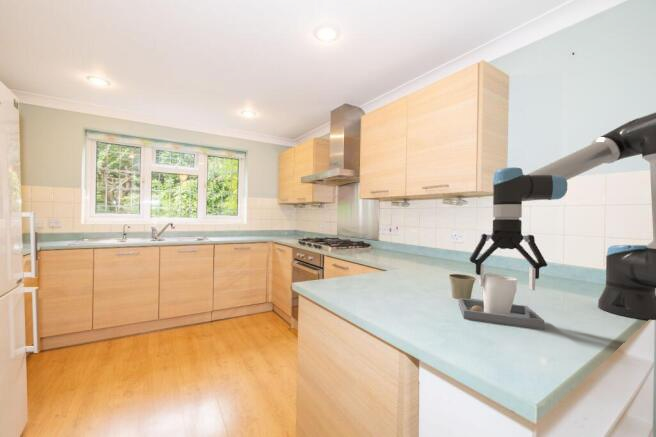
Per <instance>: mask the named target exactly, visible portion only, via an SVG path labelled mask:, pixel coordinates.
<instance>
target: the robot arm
mask: <svg viewBox="0 0 656 437" xmlns="http://www.w3.org/2000/svg"><path fill="white" fill-rule="evenodd" d="M640 155H641V157H642V159H643V160H645V161H646V162H648V163H649V169H650V174H649V175H650V192H651V194H650V195H651V198H650V199H651V215H652V216H651V217H652V219H651V220H652V221H651V222H652V238H653V240H652V241H651V242H650V243H648V244H646V245H645V244H640V245H639V244H631V245H630V244H621V245H620V244H618V245H617V244H616V245H610V246H608V248H607V250H606V251H607V252H606V256H605V258H606V259H605V260H606V262H605V264H606V265H605V266H606V268H605V286H604V289H603V291H602V293H601V295H600V297H599V298H598V303H597V307H598V309H600V310H602V311H606V312H608V313H612V314H615V315H618V316H623V317H626V318H628V317H629V318H631V319H632V318H634V319H639V320H647V321H648V320H649V321H656V112H655V111H654V112H652V113H650V114H647V115H644V116H641V117H638V118H635V119H633V120H629V121H627V122H626V123H624V124H621V125H620V126H617V127H616V128H614V129H612V130H610V131H609V132H607V133H605V134H603V135H601V136H599V137H598V138H597V137H596V138H595V139H594V140H593V141H592V142H591V144H589V145H587V146H585V147H582V148H581V149H579V150H576V151H574V152H572V153H570V154H568V155H565V156H564V157H561V158H559V159H557V160H555V161H553V162H551V163H548V164H547V165H544V166H542V167H540V168H538V169H535V170H533V171H532V172H531V171H530V173H527V174H524V173H523V169H522V168H521V167H514V166H513V167H504V168H503V167H502V168H499V169H496V170H495V171H494V172H493V180H492V186H493V187H492V188H493V189H492V195H493V196H492V197H493V198H492V199H493V200H492V217H493V218H494V219H493V220H492V233H491V234H487V233H481V235H480V240H479V242H478V244H477V246H476V247H475V249H474V250H473V252H472V254H471V256H470V257H469V262H470V263H472V264H475V274H476V275H477V276H478V281H479V282H478V284H479V286H480V287H483V279H484V274H485V273H484V272H485V270H484V268H485V267H484V264H483V263H484V261H486V260H487V259H488V258H489V257H490V256H491V255H492V254H493V253H494V252H495V251H496V250H498V249H501V250H506V249H507V250H514V249H516V250H517V251H518V253H520V255H521V256H522V257H523V258H524V259H525V261H527V262H528V263H529V264H530V265H531V266H529V267H528V268H529V269H528V272H529V273H528V289H529V290H531V291H536V280H539V278H540V269H541V268H543V267H544V268H545V267H547V266H548V263H547V261H546V260H545V258H544V256H543V254H542V252H541V251H540V249H539V247H538V246H537V244H536V240H535V236H534V235H533V234H526V235H523V234H522V223H523V222H522V220H521V219H520V218H522V217H523V216H522V214H523V208H522V207H523V204H522V202H529V201H532V202H533V201H541V200H545V201H547V200H548V201H551V200H560V199H562V198H563V197H565V195H566V193H567V191H568V185H569V184H568V180H570V179H572V178H574V177H576V176H579V175H582V174H584V173H585V172H588V171H589V170H592V169H594V168H597V167H599V166H601V165H603V164H613V163H615V162H617V161H619V160H623V159H625V158H626V159H627V158H631V157H634V156H640ZM489 240H492V241H493V243H492V244H491V245H490V246H489V247H488V249H486V250H485V251H484V252H483V253H482V254H481V252H482V250H483V248H484V247H485V245H486V243H487V242H488V241H489ZM523 240H524V242H525V243H527V245H528V246H529V248H530V250H531V252H532V254H533V256H534V258H535V259H536V260H535V259H534V258H533V257H532V256H531V255H530V253H529V252H527V250H525V248H524V247H523V246H522V245H521V244H520V243H521V242H522V241H523ZM480 254H481V255H480ZM479 255H480V256H479ZM478 256H479V257H478Z"/></svg>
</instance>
